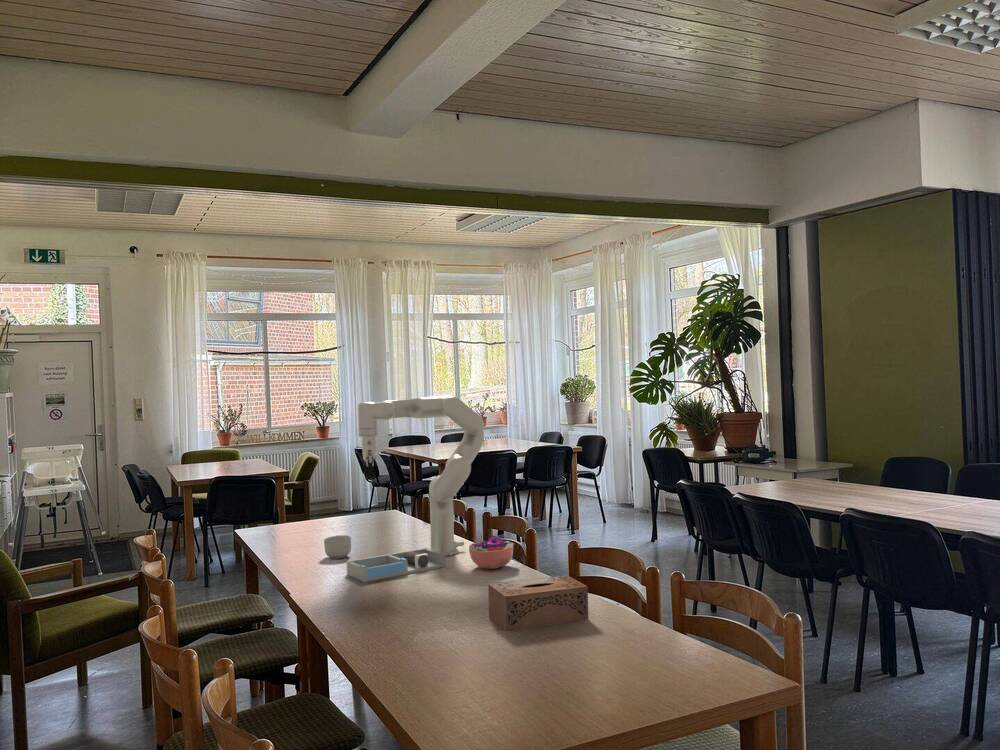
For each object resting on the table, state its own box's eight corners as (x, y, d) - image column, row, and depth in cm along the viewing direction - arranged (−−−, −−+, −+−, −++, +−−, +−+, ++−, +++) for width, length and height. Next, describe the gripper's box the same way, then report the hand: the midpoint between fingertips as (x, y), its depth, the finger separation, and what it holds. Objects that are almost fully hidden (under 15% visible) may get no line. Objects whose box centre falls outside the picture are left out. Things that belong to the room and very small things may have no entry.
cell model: (458, 571, 295) (458, 540, 295) (484, 559, 313) (484, 531, 313) (499, 575, 288) (498, 544, 288) (523, 563, 305) (523, 534, 305)
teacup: (348, 560, 318) (347, 540, 318) (321, 560, 318) (320, 540, 318) (355, 552, 332) (354, 533, 332) (329, 552, 332) (328, 533, 332)
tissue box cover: (567, 607, 247) (566, 575, 247) (588, 620, 233) (587, 586, 233) (489, 617, 238) (488, 584, 238) (506, 631, 224) (505, 596, 224)
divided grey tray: (426, 560, 314) (426, 547, 314) (445, 566, 303) (445, 552, 303) (347, 574, 294) (346, 560, 294) (364, 582, 283) (364, 567, 283)
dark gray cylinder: (405, 563, 305) (404, 551, 305) (415, 561, 308) (414, 550, 308) (418, 568, 297) (418, 556, 297) (428, 566, 300) (428, 554, 300)
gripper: (379, 433, 314) (380, 476, 314) (375, 430, 331) (376, 472, 331) (360, 434, 313) (361, 478, 312) (357, 431, 329) (358, 473, 329)
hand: (369, 474), depth 322 cm, fingers open, 9 cm apart
